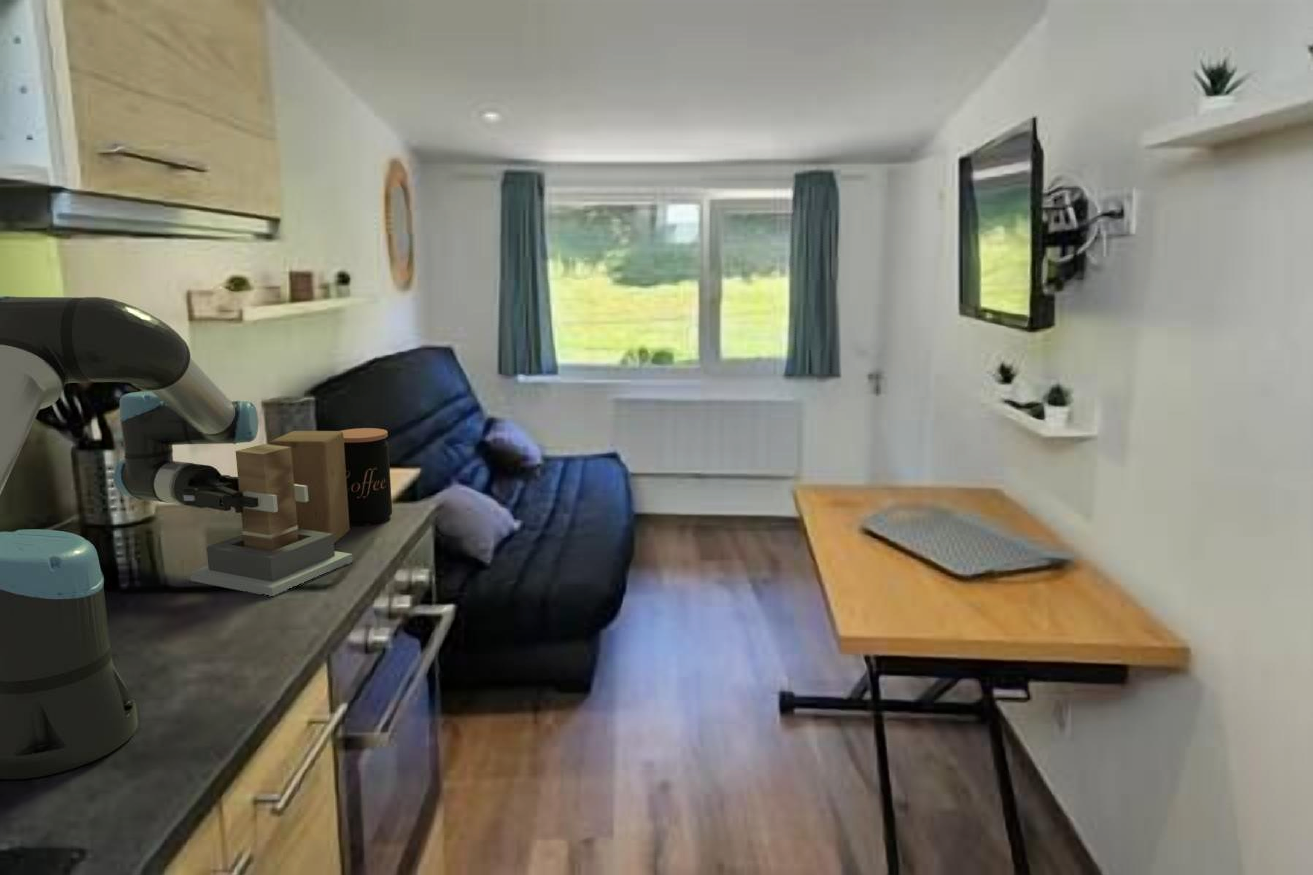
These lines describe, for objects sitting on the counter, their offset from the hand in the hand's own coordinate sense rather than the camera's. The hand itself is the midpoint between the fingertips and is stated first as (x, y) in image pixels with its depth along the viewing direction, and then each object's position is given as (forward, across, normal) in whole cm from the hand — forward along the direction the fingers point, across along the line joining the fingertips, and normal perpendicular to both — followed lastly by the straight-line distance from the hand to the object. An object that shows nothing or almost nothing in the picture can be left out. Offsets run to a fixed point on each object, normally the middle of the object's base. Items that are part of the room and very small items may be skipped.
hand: (291, 498), depth 149 cm
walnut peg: (-5, 0, -10) cm, 11 cm away
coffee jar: (-12, -31, -14) cm, 36 cm away
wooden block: (-12, -17, -14) cm, 25 cm away
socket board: (-5, 0, -13) cm, 14 cm away
